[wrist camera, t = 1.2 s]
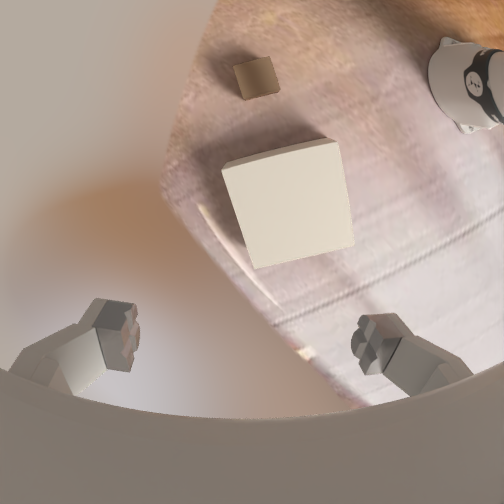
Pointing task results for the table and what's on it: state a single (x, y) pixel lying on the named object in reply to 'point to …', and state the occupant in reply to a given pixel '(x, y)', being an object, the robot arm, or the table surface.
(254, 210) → the plate
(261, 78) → the walnut cube
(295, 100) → the table surface
